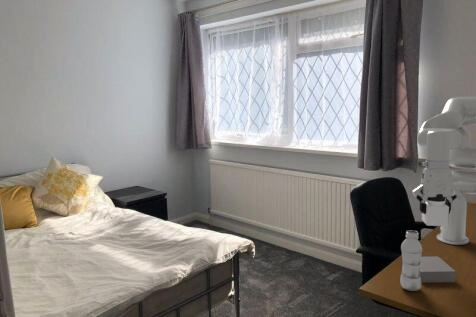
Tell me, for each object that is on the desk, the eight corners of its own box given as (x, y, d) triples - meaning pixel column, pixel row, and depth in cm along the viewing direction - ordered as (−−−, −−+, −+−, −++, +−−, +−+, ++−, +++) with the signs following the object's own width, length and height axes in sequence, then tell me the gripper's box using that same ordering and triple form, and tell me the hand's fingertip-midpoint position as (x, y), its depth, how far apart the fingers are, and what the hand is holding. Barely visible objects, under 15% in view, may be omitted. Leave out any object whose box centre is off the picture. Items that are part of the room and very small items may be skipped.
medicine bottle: (448, 226, 137) (450, 193, 135) (426, 225, 138) (428, 192, 136) (442, 220, 144) (443, 189, 142) (421, 219, 145) (422, 188, 143)
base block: (405, 266, 148) (405, 256, 148) (437, 266, 148) (438, 256, 147) (419, 282, 135) (420, 271, 135) (455, 282, 135) (455, 271, 134)
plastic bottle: (412, 295, 127) (414, 236, 124) (395, 287, 133) (397, 231, 130) (425, 290, 130) (428, 233, 127) (408, 282, 136) (410, 227, 133)
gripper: (416, 167, 135) (414, 216, 137) (468, 166, 134) (465, 215, 136) (408, 163, 142) (406, 210, 144) (456, 163, 141) (454, 209, 144)
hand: (435, 212), depth 140 cm, fingers closed on medicine bottle, 7 cm apart
